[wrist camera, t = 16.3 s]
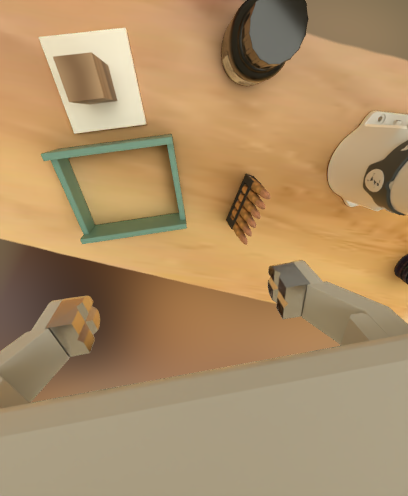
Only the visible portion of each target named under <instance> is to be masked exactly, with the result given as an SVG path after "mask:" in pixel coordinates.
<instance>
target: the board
mask: <svg viewBox="0 0 408 496" xmlns="http://www.w3.org/2000/svg"><path fill="white" fill-rule="evenodd" d="M39 40H40V42H41V45H42V48H43V50H44V53H45V56H46V59H47V61H48V64H49V67H50V69H51V72H52V75H53V77H54V80H55V83H56V85H57V88H58V91H59V94H60V96H61V99H62V102H63V104H64V107H65V110H66V112H67V115H68V118H69V120H70V123H71V126H72V129H73V131H74V134H75V133H83V132H90V131H98V130H106V129H114V128H121V127H129V126H137V125H145V124H147V123H146V119H145V114H144V109H143V105H142V100H141V95H140V90H139V86H138V81H137V76H136V72H135V67H134V62H133V58H132V53H131V48H130V44H129V39H128V34H127V30H126V28H118V29H108V30H99V31H90V32H81V33H71V34H62V35H53V36H44V37H39ZM90 52H92V53H93V54H94V55H96V56H97V57H98V58H99V59H101V60H102V61H103V62H105V63H106V64H107V65H108V66H109V70H110V74H111V78H112V82H113V86H114V89H115V93H116V97H117V101H114V102H106V103H97V104H81V103H72V102H69V101H68V98H67V95H66V92H65V89H64V87H63V84H62V81H61V78H60V75H59V73H58V70H57V67H56V64H55V61H54V59H53V57H54V56H63V55H72V54H81V53H90Z"/></svg>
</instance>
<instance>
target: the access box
mask: <svg viewBox="0 0 408 496" xmlns="http://www.w3.org/2000/svg"><path fill="white" fill-rule="evenodd" d="M160 145H167V148H168V153H169V159H170V164H171V170H172V175H173V181H174V187H175V192H176V198H177V203H178V209H179V213H174V214H167V215H160V216H154V217H147V218H140V219H133V220H127V221H120V222H113V223H106V224H100V225H95V224H94V221H93V219H92V216H91V214H90V211H89V209H88V206H87V204H86V201H85V199H84V196H83V194H82V192H81V189H80V187H79V184H78V182H77V179H76V177H75V174H74V172H73V169H72V167H71V164H70V162H69V160H68V158H70V157H78V156H85V155H93V154H100V153H108V152H115V151H123V150H130V149H138V148H145V147H153V146H160ZM41 156H42V158H43V160H44V161H48V160H51V162H52V164H53V167H54V169H55V171H56V173H57V176H58V178H59V180H60V182H61V185H62V187H63V189H64V191H65V194H66V196H67V198H68V200H69V203H70V205H71V207H72V209H73V211H74V214H75V216H76V218H77V220H78V223H79V225H80V227H81V229H82V232H83V234H84V235H83V236H82V238H81V239H80V240H81V242H82V244H86V243H93V242H100V241H106V240H113V239H119V238H126V237H133V236H139V235H146V234H152V233H159V232H166V231H172V230H179V229H186V228H187V226H186V218H185V211H184V205H183V199H182V193H181V187H180V181H179V175H178V169H177V163H176V157H175V151H174V145H173V139H172V134H168V135H160V136H152V137H145V138H137V139H130V140H122V141H114V142H107V143H99V144H92V145H84V146H76V147H69V148H61V149H56V150H53V151H49V152H46V153H43V154H41Z"/></svg>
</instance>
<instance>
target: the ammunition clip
mask: <svg viewBox="0 0 408 496" xmlns="http://www.w3.org/2000/svg"><path fill="white" fill-rule="evenodd" d="M257 194H258V195H260V196H262V197H263V198H265V199H270V194H269V193H268V192H267V191H266V190H265V188H264V187H263V186H262V185H261V183H260V182H259V181H258V180H257V179H256V178H255V177H254V176H251V175H248V174H245V177H244V179H243V181H242V184H241V186H240V188H239V191H238V193H237V195H236V198H235V200H234V203H233V205H232V207H231V210H230V212H229V214H228V217H227V219H226V221H227V222H228V224H229V226H230V227H231V229H233V230H234V232H235V233H236V235H237V236H238V237H239V239H240V240H241V241H242V242H243V243H244V244H245V245H247V238H246V236H245V234H244V232H245V233H246V234H247V235H248V236H251V235H252V233H251V230H250V228H249V226H248V224H249V225H250V226H251V227H253V228H255V227H256V223H255V221H254V219H253V218H252V215H253V216H254V217H255V218H258V219H260V213H259V212H258V210H257V209H256V206H255V205H257V206H258V207H259V208H261V209H265V204H264V203H263V201H262V200H261V199H260V197H259V196H258V195H257ZM253 203H254V204H255V205H254V204H253ZM250 213H251V214H252V215H251V214H250Z"/></svg>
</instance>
